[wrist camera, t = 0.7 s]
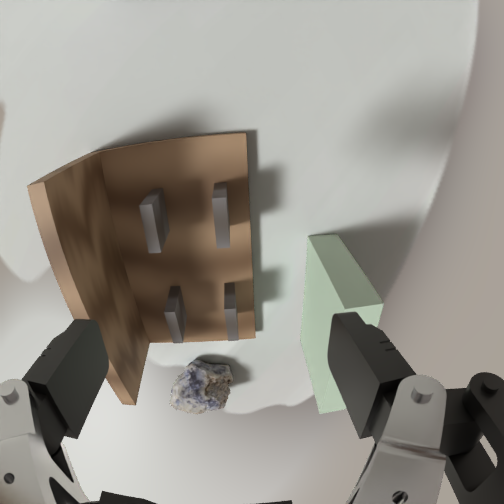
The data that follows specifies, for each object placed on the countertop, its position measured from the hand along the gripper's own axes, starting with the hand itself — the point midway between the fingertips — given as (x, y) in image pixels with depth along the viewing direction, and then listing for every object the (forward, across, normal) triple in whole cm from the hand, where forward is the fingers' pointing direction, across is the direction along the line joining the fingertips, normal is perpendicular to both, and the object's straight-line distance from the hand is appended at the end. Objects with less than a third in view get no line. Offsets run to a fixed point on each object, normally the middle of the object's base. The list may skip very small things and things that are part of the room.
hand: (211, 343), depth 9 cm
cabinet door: (+20, -10, +8) cm, 24 cm away
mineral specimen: (+23, +5, +22) cm, 32 cm away
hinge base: (+19, +5, +3) cm, 20 cm away
